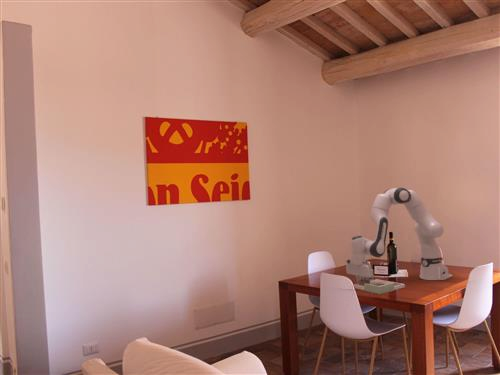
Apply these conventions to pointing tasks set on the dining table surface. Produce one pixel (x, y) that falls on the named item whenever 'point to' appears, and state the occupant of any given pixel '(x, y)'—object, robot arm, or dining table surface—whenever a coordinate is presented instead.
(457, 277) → the dining table surface
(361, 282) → the block
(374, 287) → the trap board
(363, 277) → the container
